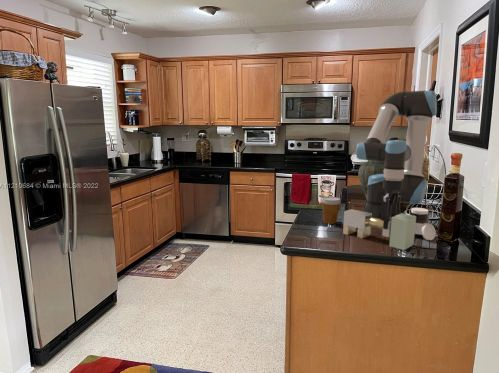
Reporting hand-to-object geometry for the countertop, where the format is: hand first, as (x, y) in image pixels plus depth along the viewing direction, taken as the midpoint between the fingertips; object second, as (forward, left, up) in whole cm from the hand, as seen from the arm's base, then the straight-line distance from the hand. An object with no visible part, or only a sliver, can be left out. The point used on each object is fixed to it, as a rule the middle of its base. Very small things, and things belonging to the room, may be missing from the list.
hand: (388, 234), depth 150 cm
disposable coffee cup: (-8, -33, -3) cm, 35 cm away
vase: (-64, -37, -3) cm, 74 cm away
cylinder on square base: (0, -4, +1) cm, 5 cm away
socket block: (0, +6, -3) cm, 6 cm away
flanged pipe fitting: (-18, +7, -4) cm, 19 cm away
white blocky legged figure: (0, -14, -3) cm, 15 cm away
